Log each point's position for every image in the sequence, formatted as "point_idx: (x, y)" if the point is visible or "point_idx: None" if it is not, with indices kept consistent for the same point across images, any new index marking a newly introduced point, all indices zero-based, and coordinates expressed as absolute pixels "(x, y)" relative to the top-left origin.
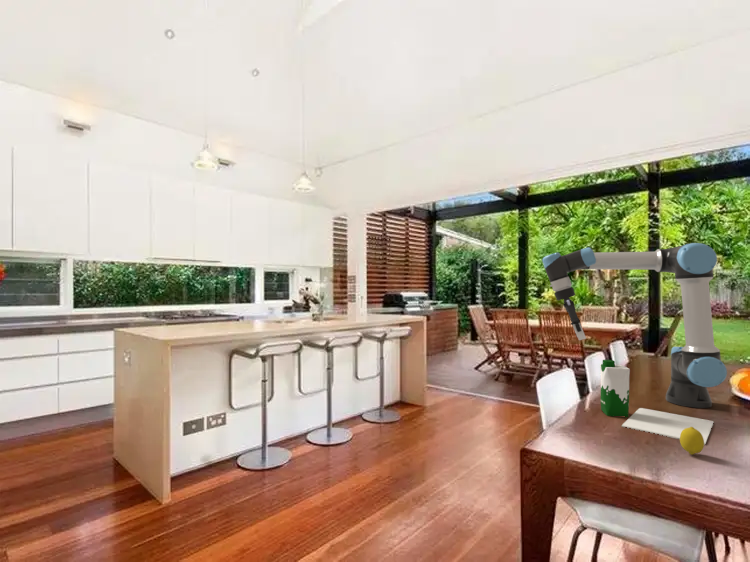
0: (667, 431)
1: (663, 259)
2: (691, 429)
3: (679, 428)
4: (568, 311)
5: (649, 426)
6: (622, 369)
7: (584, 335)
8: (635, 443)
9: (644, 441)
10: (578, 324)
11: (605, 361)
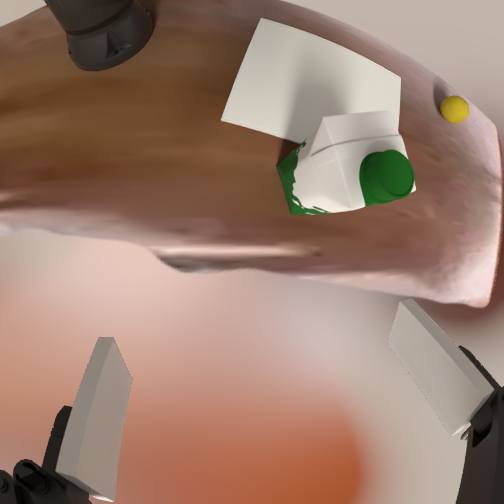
0: (381, 108)
1: None
2: (468, 107)
3: (351, 81)
4: None
5: None
6: (397, 135)
7: (426, 316)
8: (445, 175)
9: (433, 159)
10: (495, 386)
11: (410, 189)
